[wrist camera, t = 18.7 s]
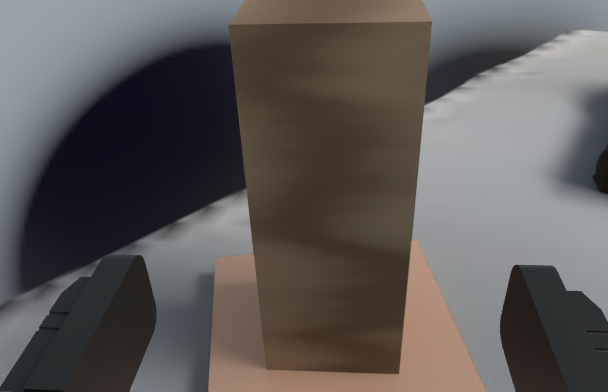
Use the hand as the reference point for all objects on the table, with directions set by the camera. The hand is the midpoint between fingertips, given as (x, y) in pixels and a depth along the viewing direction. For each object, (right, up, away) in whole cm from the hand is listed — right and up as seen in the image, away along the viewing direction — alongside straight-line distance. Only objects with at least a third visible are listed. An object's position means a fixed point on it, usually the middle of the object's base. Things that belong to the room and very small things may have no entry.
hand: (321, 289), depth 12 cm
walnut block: (+1, -3, +11) cm, 11 cm away
